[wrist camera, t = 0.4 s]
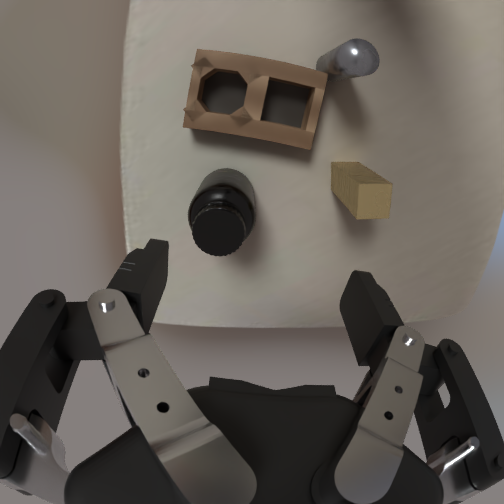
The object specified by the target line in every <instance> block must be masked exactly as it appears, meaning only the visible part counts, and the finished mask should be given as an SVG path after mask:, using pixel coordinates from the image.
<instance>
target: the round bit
mask: <svg viewBox="0 0 504 504" xmlns="http://www.w3.org/2000/svg"><path fill="white" fill-rule="evenodd" d="M378 66H379V55H378V52H377V50H376V49H375V47H374V46H373V45H372V44H371V43H369V42H368V41H366V40H363V39H351V40H349V41H347V42H345V43H344V44H342V45H340V46H338V47H337V48H335V49H333V50H331V51H330V52H328V53H326V54H325V55H323V56H321V57H320V58H319V59H318V61H317V64H316V68H317V71H321V72H324V73H327V74H328V77H327V81H331V82H334V81H339V80H344V79H349V78H354V77H360V76H365V75H370V74H372V73H374V72H375V71H376V70H377V68H378Z"/></svg>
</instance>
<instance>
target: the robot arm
mask: <svg viewBox="0 0 504 504" xmlns="http://www.w3.org/2000/svg"><path fill="white" fill-rule="evenodd" d="M168 249H169V244H168V241H164V240H157V239H150V240H149V242H148V243H147V245H146V247H145V248H144V249H139V248H137V249H135V250H134V251H132V252H130V253H129V254H128V255H127V257H126V258H125V260H124V261H123V263H122V264H121V266H120V268H119V269H118V270H117V272H116V273H115V275H114V277H113V278H112V280H111V282H110V283H109V285H108V287H107V288H106V289H102V290H98V291H96V292H94V293H93V294H92V295H91V296H90V297H89V299H88V301H85V302H66V299H65V296H64V294H63V293H62V292H60V291H58V290H53V289H50V290H44V291H41V292H40V293H38V294H36V295H35V296H34V297H33V299H32V300H31V302H30V303H29V304H28V306H27V307H26V309H25V310H24V312H23V313H22V315H21V316H20V318H19V320H18V321H17V323H16V324H15V326H14V327H13V329H12V331H11V333H10V334H9V336H8V337H7V339H6V341H5V342H4V344H3V346H2V348H1V349H0V483H2V484H4V485H6V486H7V487H9V488H11V489H15V490H17V491H19V492H20V493H22V494H25V495H35V496H37V497H39V498H41V499H43V500H46V501H48V502H50V503H53V504H458V503H461V502H463V501H465V500H466V499H469V498H471V497H473V496H474V495H476V494H478V493H480V492H482V491H484V490H485V489H487V488H489V487H491V486H492V485H494V484H496V483H497V482H499V481H500V480H502V479H504V442H503V439H502V436H501V433H500V431H499V428H498V425H497V423H496V420H495V418H494V415H493V413H492V410H491V408H490V406H489V403H488V401H487V399H486V397H485V394H484V392H483V390H482V388H481V386H480V383H479V381H478V379H477V377H476V375H475V373H474V371H473V369H472V367H471V365H470V363H469V361H468V359H467V357H466V355H465V354H464V352H463V350H462V348H461V347H460V346H459V345H458V344H457V343H456V342H454V341H453V340H450V339H443V340H442V341H441V342H440V343H439V344H438V346H437V347H435V346H432V345H428V344H425V342H424V339H423V337H422V336H421V334H420V333H419V332H418V331H416V330H415V329H413V328H411V327H408V326H404V324H403V322H402V320H401V318H400V316H399V314H398V312H397V311H396V309H395V307H394V305H393V303H392V302H391V301H390V298H389V296H388V294H387V293H386V291H385V290H384V289H383V288H382V287H380V286H379V285H378V284H377V283H376V281H375V279H374V278H373V276H372V274H371V273H370V272H364V271H357V270H354V271H353V272H352V274H351V276H350V278H349V280H348V283H347V285H346V288H345V290H344V292H343V294H342V297H341V300H340V312H341V315H342V318H343V320H344V323H345V326H346V329H347V332H348V335H349V338H350V341H351V344H352V347H353V350H354V353H355V356H356V359H357V362H358V365H359V366H369V367H370V370H369V371H368V372H367V374H366V376H365V378H364V380H363V382H362V384H361V385H360V387H359V389H358V391H357V393H356V395H355V397H354V399H353V400H350V399H348V398H346V397H343V396H340V395H336V392H335V387H334V385H303V386H298V387H293V388H287V389H281V390H272V389H269V388H265V387H262V386H258V385H255V384H252V383H249V382H245V381H242V380H233V379H225V378H217V377H210V381H209V386H200V387H195V388H192V389H188V390H186V389H185V388H184V386H183V385H182V383H181V381H180V380H179V378H178V377H177V375H176V374H175V372H174V371H173V369H172V368H171V366H170V364H169V363H168V361H167V360H166V358H165V356H164V355H163V353H162V351H161V350H160V348H159V346H158V345H157V343H156V341H155V339H154V338H153V336H152V335H151V334H150V333H149V330H150V327H151V324H152V321H153V319H154V316H155V313H156V310H157V308H158V305H159V302H160V300H161V297H162V294H163V292H164V289H165V286H166V282H167V276H168ZM81 360H102V362H103V365H104V367H105V369H106V372H107V374H108V377H109V379H110V382H111V384H112V387H113V389H114V391H115V393H116V396H117V398H118V400H119V402H120V405H121V407H122V410H123V412H124V414H125V416H126V418H127V420H128V422H129V424H130V426H131V428H130V429H129V430H128V431H126V432H125V433H124V434H122V435H121V436H119V437H118V438H116V439H115V440H113V441H112V442H111V443H109V444H108V445H106V446H105V447H103V448H102V449H100V450H99V451H98V452H96V453H95V454H93V455H92V456H90V457H89V458H87V459H86V460H84V461H83V462H81V463H80V464H78V465H77V466H76V467H75V468H74V469H73V470H72V471H71V473H69V471H68V469H67V467H66V464H65V447H64V444H63V442H62V440H61V439H60V438H59V437H58V435H57V434H56V430H57V427H58V424H59V420H60V417H61V414H62V411H63V407H64V405H65V402H66V399H67V396H68V393H69V390H70V387H71V385H72V382H73V379H74V376H75V373H76V371H77V368H78V366H79V363H80V361H81ZM444 383H445V384H446V386H447V389H448V391H449V394H450V403H449V405H448V406H447V407H446V408H444V405H443V403H442V400H441V398H440V395H439V392H438V389H439V388H440V387H441V386H442V385H443V384H444ZM413 412H414V414H415V418H416V421H417V425H418V428H419V431H420V435H421V439H422V442H423V446H424V450H425V454H426V459H427V462H426V463H425V462H424V461H422V460H421V459H420V458H419V457H418V456H417V455H415V454H414V453H413V452H412V451H411V450H410V449H408V448H407V447H406V446H405V445H404V444H403V442H404V439H405V436H406V434H407V431H408V428H409V425H410V422H411V419H412V415H413Z"/></svg>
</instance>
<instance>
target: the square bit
mask: <svg viewBox="0 0 504 504" xmlns="http://www.w3.org/2000/svg"><path fill="white" fill-rule="evenodd" d="M331 190H332V191H333V192H334V193H335V194H336V196H337V197H338V198H339V199H340V200H341V201H342V203H343V204H344V205H345V206H346V207H347V208H348V210H349V211H350V212H351V213H352V214H353V216H354V217H355V218H356V219H382V218H389V213H390V204H391V194H392V183H390V182H389V181H387V180H386V179H384V178H383V177H381V176H379V175H378V174H376V173H375V172H373V171H372V170H370V169H368V168H367V167H365V166H364V165H362V164H360V163H359V162H331Z"/></svg>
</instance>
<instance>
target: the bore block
mask: <svg viewBox="0 0 504 504" xmlns="http://www.w3.org/2000/svg"><path fill="white" fill-rule="evenodd" d="M191 66H192V67H193V71H192V77H191V82H190V87H189V93H188V98H187V104H186V108H184V109H183V110H184V111H185V116H184V123H183V127H184V128H193V129H200V130H208V131H215V132H222V133H228V134H234V135H240V136H246V137H252V138H257V139H262V140H267V141H272V142H277V143H282V144H286V145H291V146H295V147H300V148H304V149H308V150H311V146H312V142H313V138H314V134H315V129H316V125H317V121H318V117H319V113H320V108H321V104H322V100H323V95H324V91H325V86H326V82H327V77H328V74H327V73H324V72H321V71H317V70H313V69H310V68H306V67H302V66H298V65H294V64H290V63H285V62H281V61H276V60H271V59H266V58H261V57H255V56H249V55H243V54H237V53H229V52H221V51H213V50H202V49H197V52H196V57H195V62H194V64H193V65H191Z"/></svg>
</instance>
